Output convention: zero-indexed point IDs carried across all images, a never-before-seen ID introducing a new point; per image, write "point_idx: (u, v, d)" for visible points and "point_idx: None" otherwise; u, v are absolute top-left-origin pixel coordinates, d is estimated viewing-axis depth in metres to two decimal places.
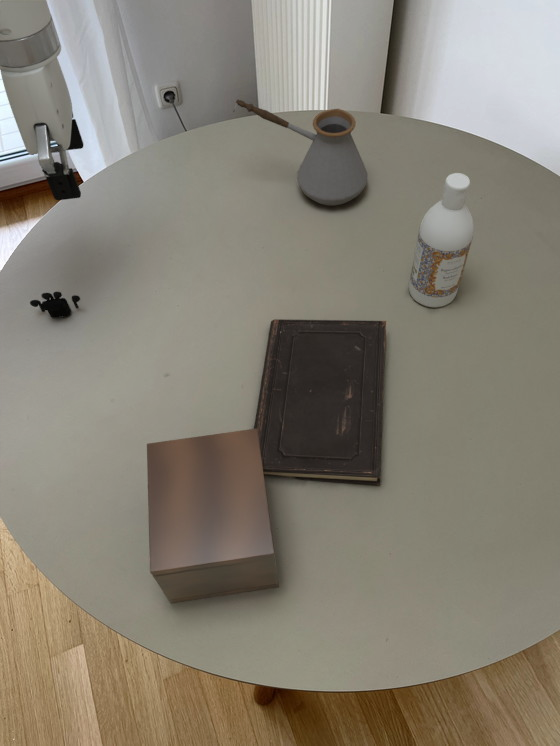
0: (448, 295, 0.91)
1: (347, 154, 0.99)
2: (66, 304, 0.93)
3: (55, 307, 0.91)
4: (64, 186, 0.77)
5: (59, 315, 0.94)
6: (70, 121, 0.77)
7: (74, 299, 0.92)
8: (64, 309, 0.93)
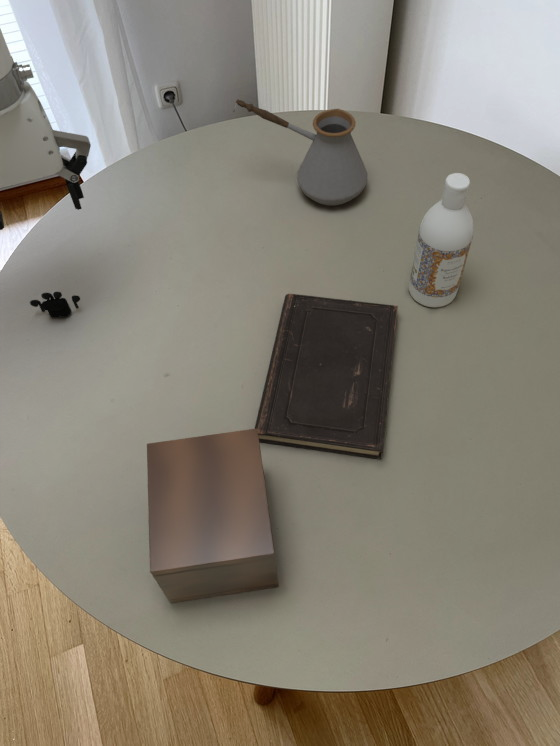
0: (448, 295, 0.91)
1: (347, 154, 0.99)
2: (66, 304, 0.93)
3: (55, 307, 0.91)
4: None
5: (59, 315, 0.94)
6: (19, 177, 0.75)
7: (74, 299, 0.92)
8: (64, 309, 0.93)
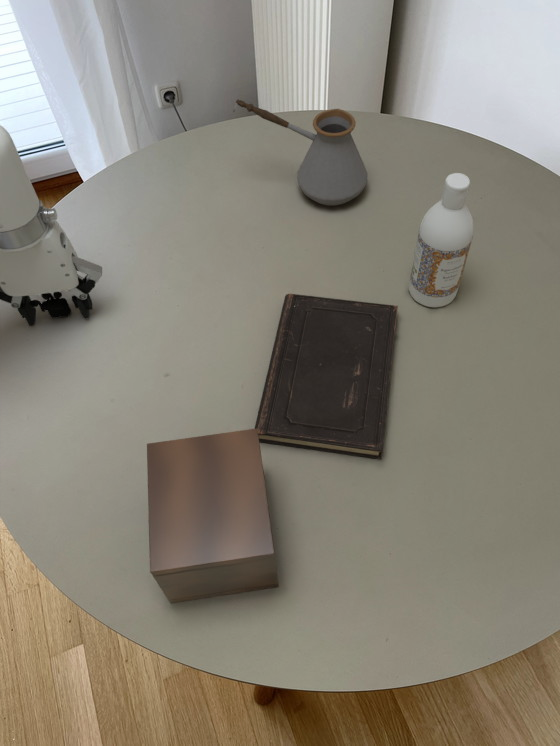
0: (448, 295, 0.91)
1: (347, 154, 0.99)
2: (66, 304, 0.93)
3: (55, 307, 0.91)
4: None
5: (59, 315, 0.94)
6: (39, 290, 0.86)
7: (74, 299, 0.92)
8: (64, 309, 0.93)
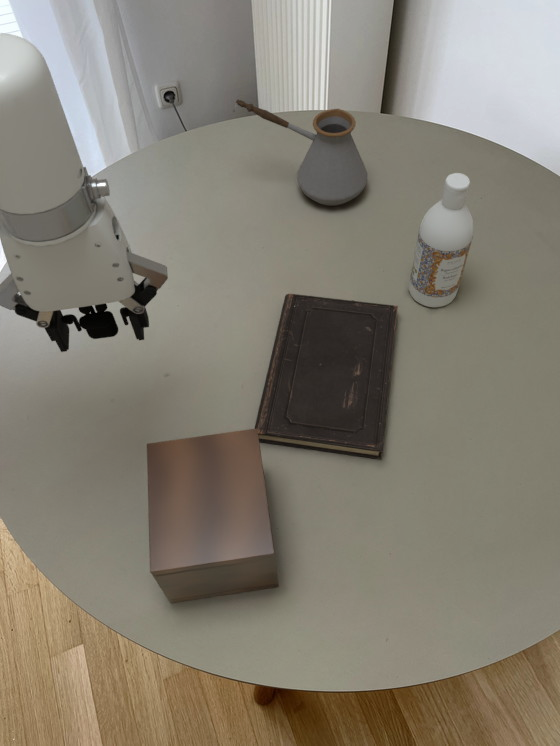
0: (448, 295, 0.91)
1: (347, 154, 0.99)
2: (112, 320, 0.66)
3: (98, 325, 0.64)
4: None
5: (102, 335, 0.67)
6: (79, 301, 0.60)
7: (124, 313, 0.65)
8: (109, 326, 0.66)
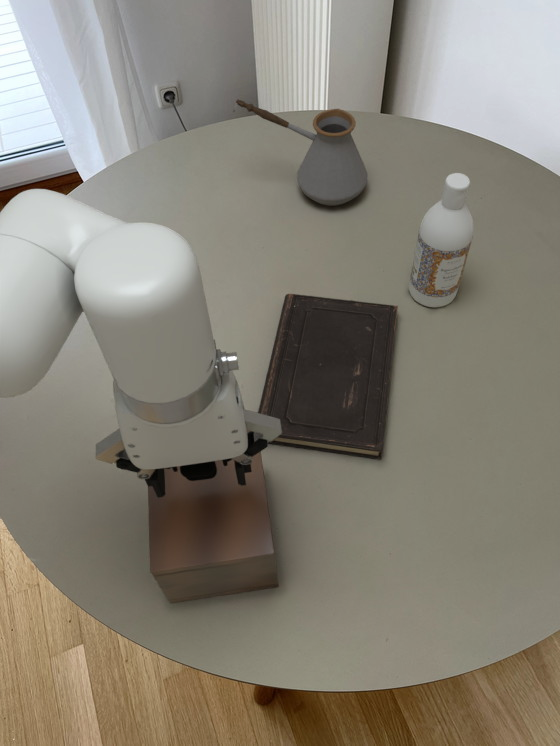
0: (448, 295, 0.91)
1: (347, 154, 0.99)
2: (214, 464, 0.61)
3: (201, 474, 0.59)
4: None
5: (201, 478, 0.62)
6: (188, 461, 0.55)
7: None
8: None
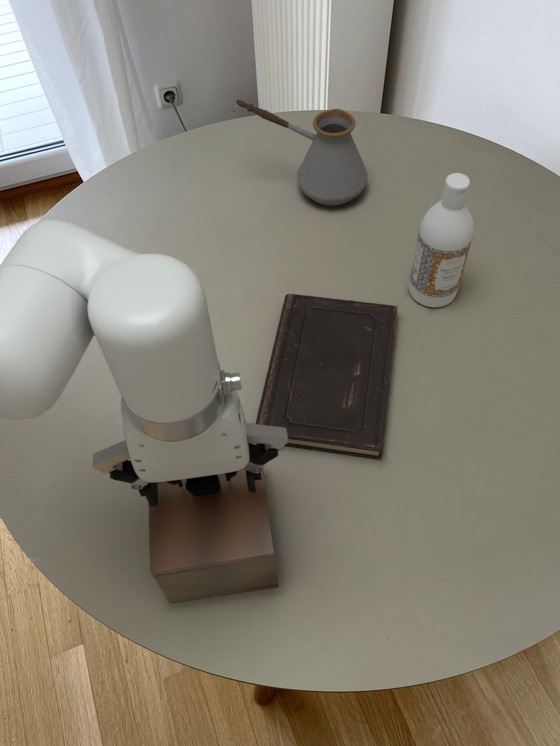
0: (448, 295, 0.91)
1: (347, 154, 0.99)
2: (217, 480, 0.64)
3: (206, 490, 0.62)
4: None
5: (205, 493, 0.65)
6: (192, 474, 0.57)
7: (230, 475, 0.64)
8: None
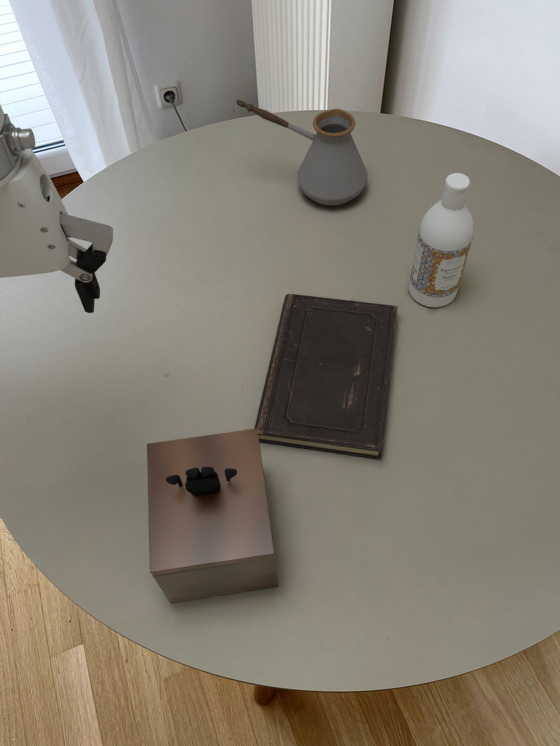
0: (448, 295, 0.91)
1: (347, 154, 0.99)
2: (217, 480, 0.64)
3: (206, 490, 0.62)
4: None
5: (205, 493, 0.65)
6: (6, 270, 0.53)
7: (230, 475, 0.64)
8: None
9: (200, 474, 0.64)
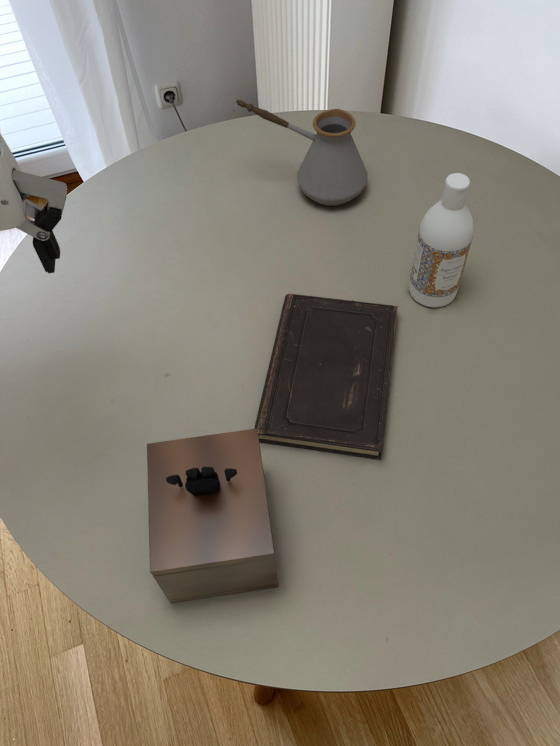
0: (448, 295, 0.91)
1: (347, 154, 0.99)
2: (217, 480, 0.64)
3: (206, 490, 0.62)
4: None
5: (205, 493, 0.65)
6: None
7: (230, 475, 0.64)
8: None
9: (200, 474, 0.64)
